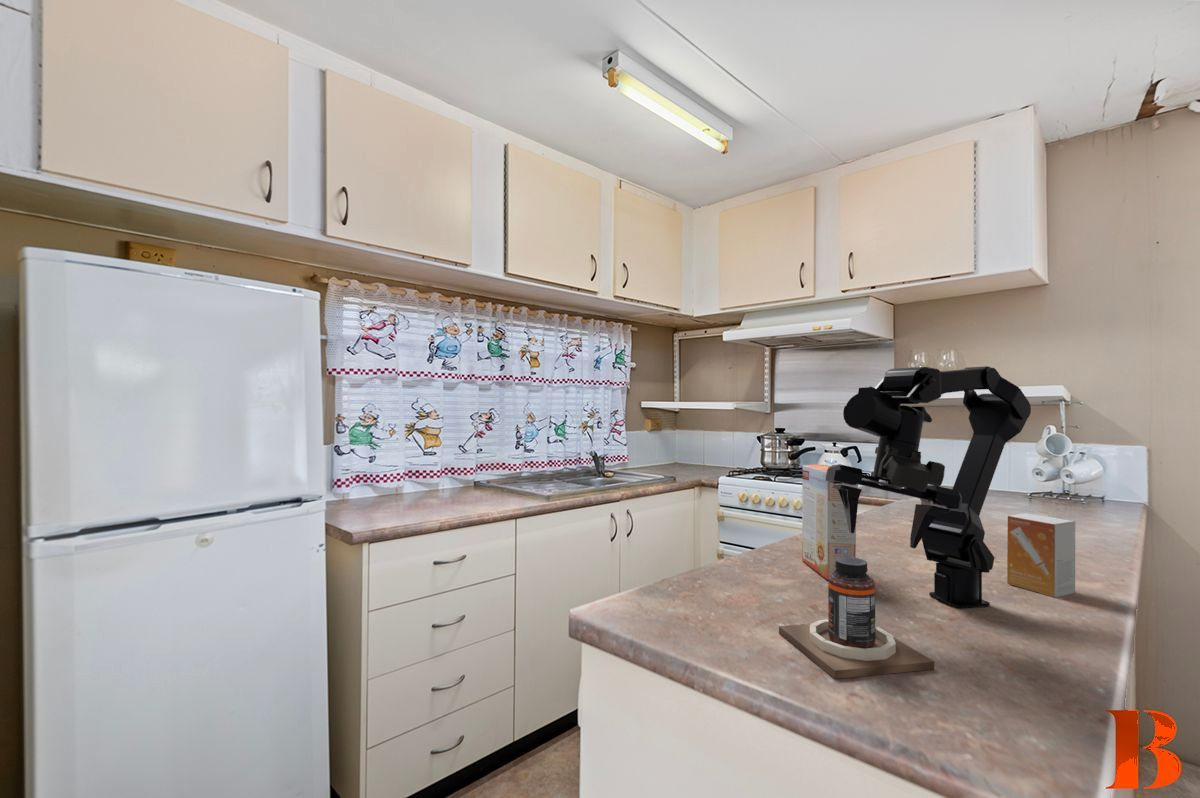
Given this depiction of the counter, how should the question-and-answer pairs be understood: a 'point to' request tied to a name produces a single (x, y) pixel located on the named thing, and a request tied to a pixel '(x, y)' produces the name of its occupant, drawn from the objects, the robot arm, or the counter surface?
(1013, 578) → the small box
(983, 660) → the counter surface
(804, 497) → the cracker box
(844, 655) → the collar
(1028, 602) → the counter surface
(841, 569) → the supplement bottle
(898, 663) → the board
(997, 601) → the counter surface
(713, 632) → the counter surface
